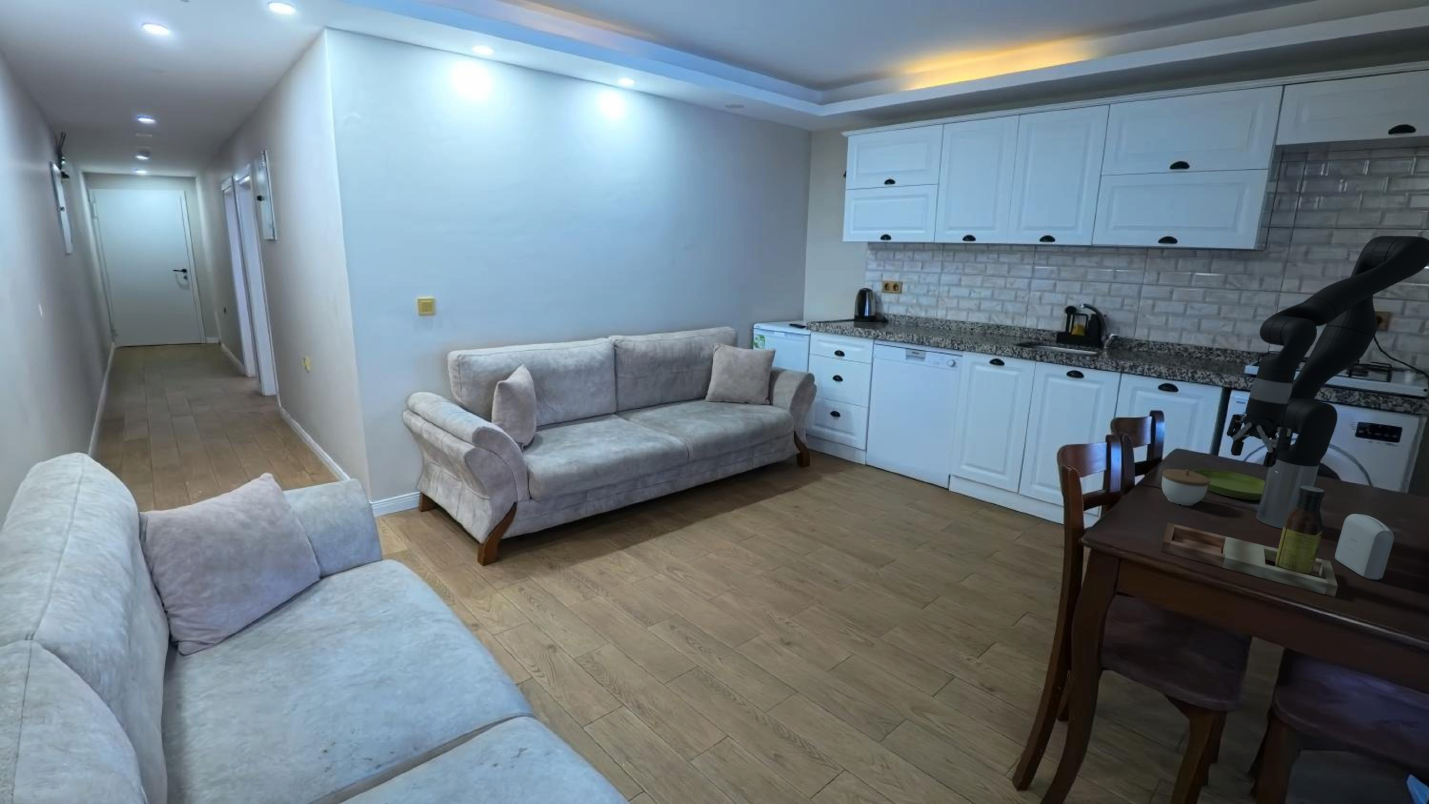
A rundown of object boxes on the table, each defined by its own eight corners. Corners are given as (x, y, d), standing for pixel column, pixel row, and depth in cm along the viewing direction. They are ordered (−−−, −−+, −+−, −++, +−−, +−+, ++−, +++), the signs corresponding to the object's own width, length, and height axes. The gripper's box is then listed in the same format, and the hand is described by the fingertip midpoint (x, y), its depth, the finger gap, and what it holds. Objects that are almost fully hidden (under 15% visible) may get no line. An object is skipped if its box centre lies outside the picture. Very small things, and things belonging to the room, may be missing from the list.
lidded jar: (1188, 511, 176) (1195, 478, 174) (1149, 496, 186) (1155, 465, 183) (1212, 506, 180) (1220, 474, 178) (1173, 492, 190) (1179, 461, 188)
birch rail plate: (1327, 571, 145) (1330, 561, 144) (1334, 596, 134) (1337, 586, 134) (1165, 531, 163) (1167, 522, 162) (1160, 551, 152) (1163, 541, 151)
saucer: (1295, 505, 184) (1298, 494, 183) (1221, 502, 184) (1224, 492, 183) (1239, 479, 204) (1241, 469, 203) (1172, 476, 204) (1175, 466, 203)
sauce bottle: (1317, 582, 140) (1342, 496, 135) (1284, 579, 141) (1307, 493, 136) (1297, 568, 146) (1320, 485, 141) (1265, 564, 147) (1287, 482, 142)
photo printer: (1329, 557, 152) (1344, 508, 149) (1351, 559, 151) (1366, 510, 148) (1362, 579, 142) (1378, 526, 139) (1385, 581, 141) (1402, 529, 138)
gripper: (1311, 406, 154) (1292, 471, 157) (1254, 392, 167) (1237, 452, 171) (1284, 405, 152) (1265, 470, 156) (1229, 391, 166) (1213, 451, 170)
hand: (1251, 460), depth 164 cm, fingers open, 8 cm apart
